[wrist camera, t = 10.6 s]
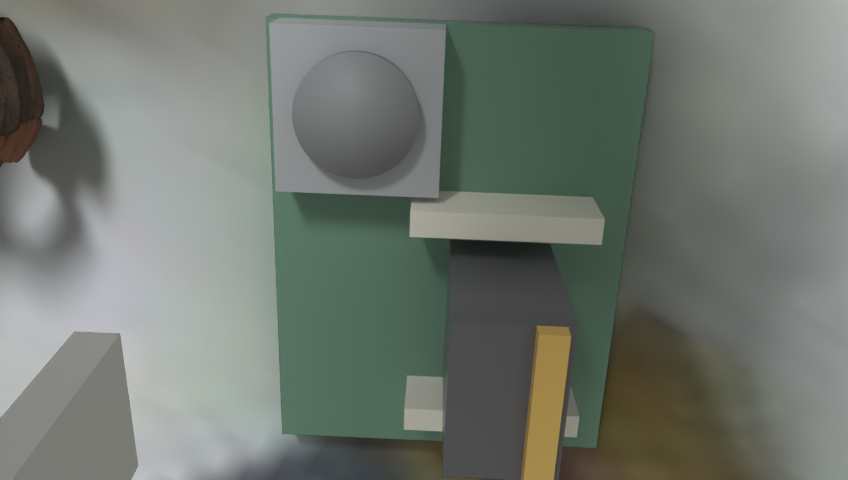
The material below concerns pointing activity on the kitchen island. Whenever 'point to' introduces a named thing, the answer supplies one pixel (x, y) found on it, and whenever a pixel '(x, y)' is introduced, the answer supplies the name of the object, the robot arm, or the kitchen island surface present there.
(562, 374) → the plug
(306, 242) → the header board
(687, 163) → the kitchen island surface
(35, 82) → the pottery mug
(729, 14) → the kitchen island surface
